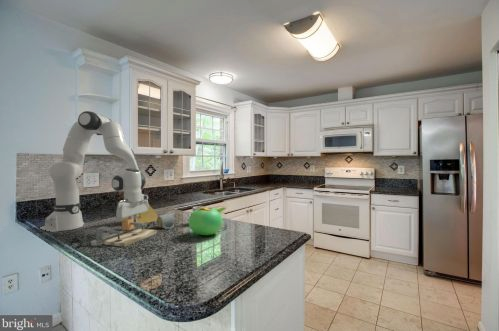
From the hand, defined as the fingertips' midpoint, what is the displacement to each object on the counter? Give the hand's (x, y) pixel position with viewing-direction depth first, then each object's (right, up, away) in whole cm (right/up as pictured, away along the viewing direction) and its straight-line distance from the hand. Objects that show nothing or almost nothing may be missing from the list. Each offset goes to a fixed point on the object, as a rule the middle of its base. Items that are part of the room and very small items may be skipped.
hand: (133, 222), depth 135 cm
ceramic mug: (+16, -5, +7) cm, 18 cm away
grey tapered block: (+1, -5, -12) cm, 13 cm away
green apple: (+42, -5, -7) cm, 43 cm away
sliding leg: (+3, -2, -5) cm, 6 cm away
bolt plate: (+6, -5, -13) cm, 15 cm away
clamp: (-6, -5, +20) cm, 22 cm away
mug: (+33, -4, +14) cm, 36 cm away
